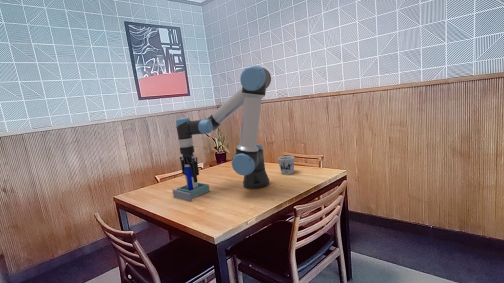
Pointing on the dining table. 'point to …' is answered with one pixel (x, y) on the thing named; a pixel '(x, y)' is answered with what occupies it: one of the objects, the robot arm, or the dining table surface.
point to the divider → (182, 195)
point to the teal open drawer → (196, 192)
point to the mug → (286, 164)
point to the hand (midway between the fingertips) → (192, 186)
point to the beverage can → (189, 177)
